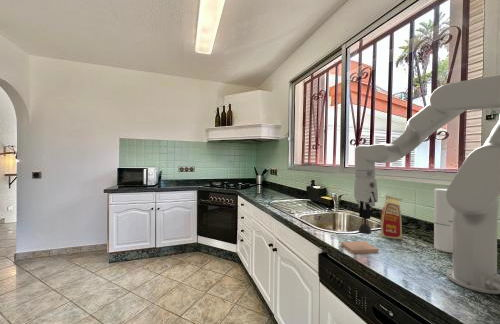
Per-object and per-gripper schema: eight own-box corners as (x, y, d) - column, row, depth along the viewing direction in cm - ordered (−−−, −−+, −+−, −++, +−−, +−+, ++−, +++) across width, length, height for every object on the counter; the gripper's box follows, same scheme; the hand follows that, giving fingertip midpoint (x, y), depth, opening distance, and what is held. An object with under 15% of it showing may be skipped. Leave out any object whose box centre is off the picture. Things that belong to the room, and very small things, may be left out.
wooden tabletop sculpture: (375, 234, 91) (375, 185, 90) (364, 235, 90) (364, 186, 90) (366, 230, 96) (366, 184, 96) (356, 230, 96) (356, 184, 96)
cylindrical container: (461, 253, 89) (461, 191, 89) (440, 251, 90) (441, 190, 90) (449, 246, 96) (449, 188, 96) (430, 245, 97) (430, 188, 97)
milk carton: (382, 237, 108) (382, 196, 108) (380, 231, 116) (380, 193, 116) (404, 239, 104) (404, 197, 104) (400, 233, 112) (401, 194, 112)
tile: (378, 249, 90) (352, 250, 89) (378, 253, 90) (352, 254, 89) (364, 241, 99) (341, 242, 98) (364, 245, 99) (341, 246, 98)
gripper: (386, 175, 86) (386, 222, 86) (362, 173, 102) (362, 213, 102) (367, 175, 86) (367, 223, 86) (346, 173, 101) (346, 213, 101)
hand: (364, 217), depth 94 cm, fingers closed on wooden tabletop sculpture, 1 cm apart
